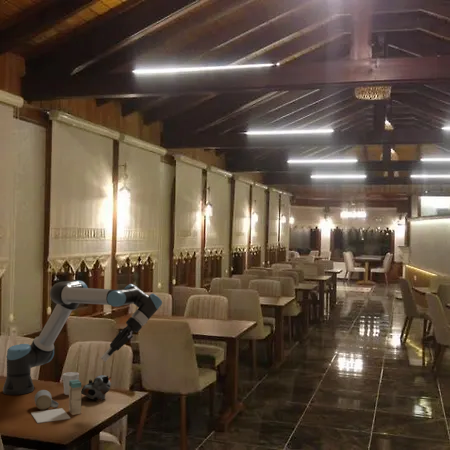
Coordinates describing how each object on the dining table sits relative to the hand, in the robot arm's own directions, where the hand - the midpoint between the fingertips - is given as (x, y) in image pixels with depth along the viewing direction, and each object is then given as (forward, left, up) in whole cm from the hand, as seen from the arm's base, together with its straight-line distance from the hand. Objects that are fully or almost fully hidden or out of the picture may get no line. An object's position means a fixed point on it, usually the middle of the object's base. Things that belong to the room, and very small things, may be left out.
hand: (102, 359), depth 267 cm
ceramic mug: (-14, -23, -23) cm, 35 cm away
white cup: (-33, -7, -23) cm, 41 cm away
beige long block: (0, -13, -23) cm, 26 cm away
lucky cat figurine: (-19, +2, -23) cm, 30 cm away
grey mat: (0, -24, -23) cm, 33 cm away
